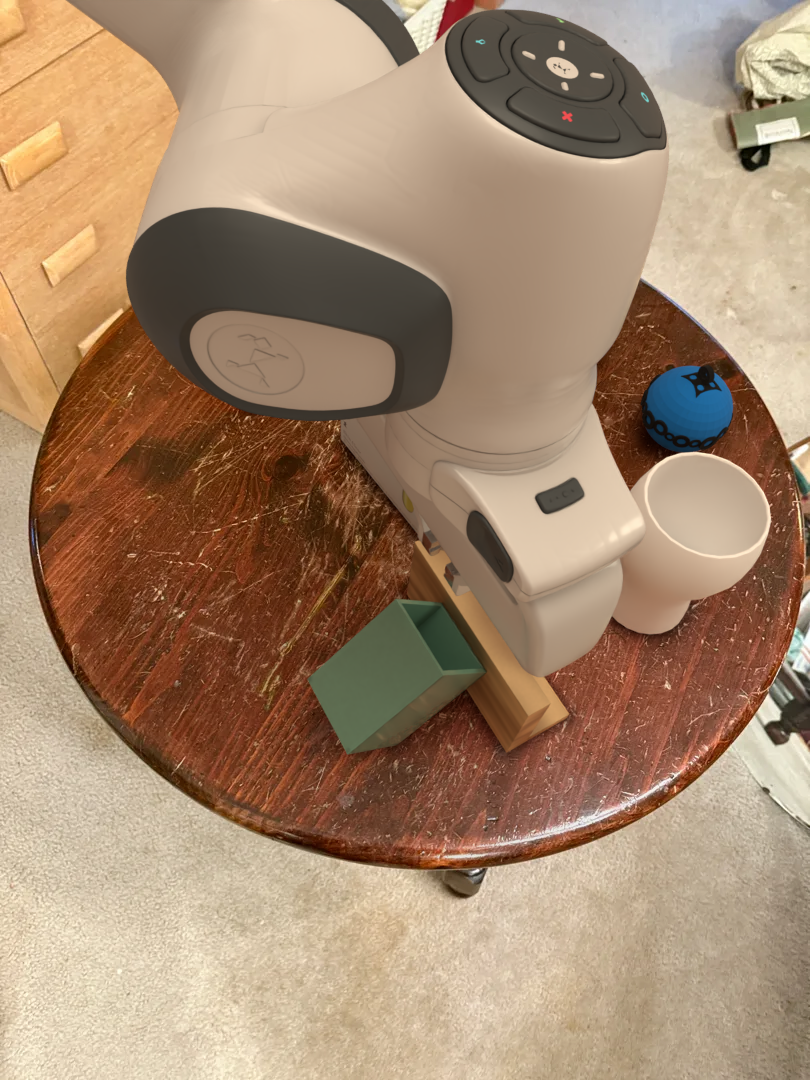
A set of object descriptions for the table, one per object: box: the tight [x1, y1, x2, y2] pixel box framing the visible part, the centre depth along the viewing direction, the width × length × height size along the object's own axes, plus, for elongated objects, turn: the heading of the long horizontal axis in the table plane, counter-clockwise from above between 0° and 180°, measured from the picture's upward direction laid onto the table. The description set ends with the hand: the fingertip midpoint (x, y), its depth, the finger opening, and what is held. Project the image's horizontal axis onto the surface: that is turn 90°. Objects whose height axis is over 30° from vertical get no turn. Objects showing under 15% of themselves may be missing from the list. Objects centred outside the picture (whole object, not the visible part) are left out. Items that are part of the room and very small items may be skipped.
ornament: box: [640, 364, 734, 453], centre depth 78 cm, size 9×9×10 cm
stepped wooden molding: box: [406, 539, 570, 753], centre depth 65 cm, size 6×16×9 cm, turn 30°
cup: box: [612, 451, 772, 635], centre depth 67 cm, size 11×11×15 cm
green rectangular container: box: [306, 598, 487, 755], centre depth 61 cm, size 12×7×12 cm, turn 120°
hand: (448, 562), depth 49 cm, fingers closed
